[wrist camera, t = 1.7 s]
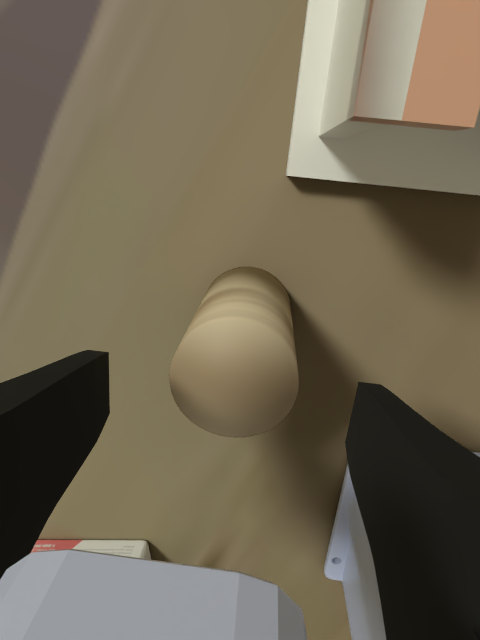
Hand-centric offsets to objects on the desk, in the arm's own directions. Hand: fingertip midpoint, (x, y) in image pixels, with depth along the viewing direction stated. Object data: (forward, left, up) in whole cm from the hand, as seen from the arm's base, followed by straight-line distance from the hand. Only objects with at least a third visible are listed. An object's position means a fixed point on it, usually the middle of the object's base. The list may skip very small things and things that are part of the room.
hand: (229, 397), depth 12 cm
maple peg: (0, 0, -8) cm, 8 cm away
